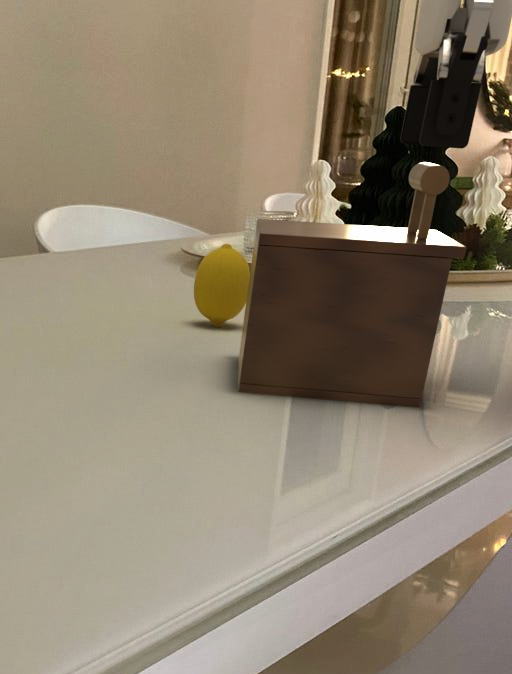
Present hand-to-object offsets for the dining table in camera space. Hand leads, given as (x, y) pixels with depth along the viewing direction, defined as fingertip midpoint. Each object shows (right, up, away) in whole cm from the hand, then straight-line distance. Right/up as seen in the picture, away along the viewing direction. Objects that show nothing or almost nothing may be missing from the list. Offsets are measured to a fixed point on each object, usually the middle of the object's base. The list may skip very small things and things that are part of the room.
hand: (431, 145), depth 76 cm
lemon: (-11, -5, +30) cm, 32 cm away
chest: (-6, -15, +9) cm, 18 cm away
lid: (-5, -6, +4) cm, 8 cm away
